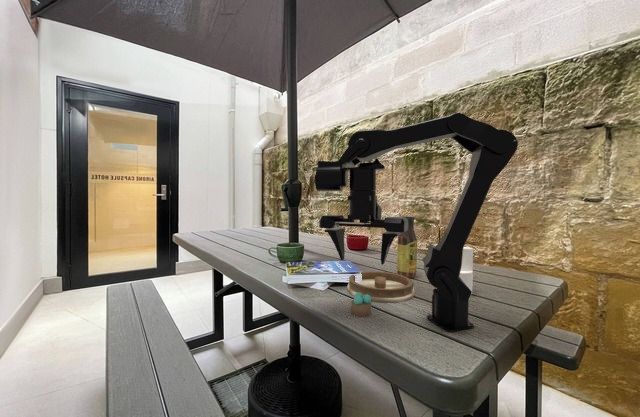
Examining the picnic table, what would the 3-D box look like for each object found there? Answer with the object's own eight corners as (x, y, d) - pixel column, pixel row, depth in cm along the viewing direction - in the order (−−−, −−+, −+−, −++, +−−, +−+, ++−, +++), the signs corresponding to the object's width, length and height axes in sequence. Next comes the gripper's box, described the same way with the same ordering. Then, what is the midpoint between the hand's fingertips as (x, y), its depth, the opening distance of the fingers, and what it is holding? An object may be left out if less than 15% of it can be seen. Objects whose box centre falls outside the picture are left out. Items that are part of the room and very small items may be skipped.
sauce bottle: (412, 279, 86) (413, 216, 85) (393, 276, 90) (394, 216, 89) (419, 275, 91) (420, 215, 90) (401, 272, 95) (401, 215, 94)
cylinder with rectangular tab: (463, 285, 80) (464, 245, 80) (478, 296, 71) (479, 251, 71) (432, 284, 81) (433, 244, 81) (442, 295, 72) (443, 250, 72)
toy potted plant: (374, 316, 59) (375, 296, 59) (356, 318, 58) (356, 298, 58) (365, 308, 63) (365, 290, 63) (347, 310, 62) (348, 292, 62)
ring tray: (429, 297, 70) (429, 284, 70) (366, 306, 64) (366, 291, 64) (389, 278, 87) (390, 267, 87) (337, 283, 81) (337, 272, 81)
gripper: (412, 191, 63) (411, 259, 63) (337, 192, 71) (337, 251, 72) (404, 190, 53) (403, 270, 53) (318, 191, 61) (318, 260, 62)
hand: (362, 261), depth 60 cm, fingers open, 9 cm apart
